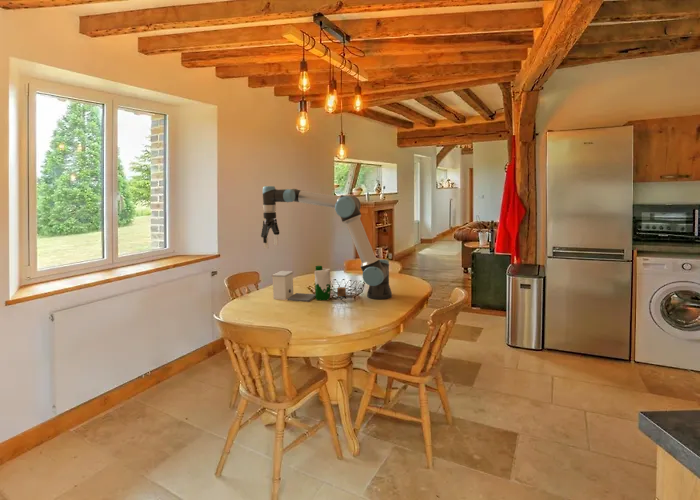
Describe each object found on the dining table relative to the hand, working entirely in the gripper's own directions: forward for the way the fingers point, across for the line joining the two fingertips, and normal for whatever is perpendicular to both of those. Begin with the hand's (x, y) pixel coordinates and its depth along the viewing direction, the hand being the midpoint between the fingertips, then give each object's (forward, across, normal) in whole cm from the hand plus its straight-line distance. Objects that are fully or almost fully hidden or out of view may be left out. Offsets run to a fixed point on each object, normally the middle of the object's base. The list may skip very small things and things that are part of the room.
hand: (271, 246), depth 269 cm
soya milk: (+31, -1, +33) cm, 45 cm away
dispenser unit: (+31, 0, +7) cm, 32 cm away
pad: (+31, 0, +20) cm, 37 cm away
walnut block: (+31, -10, +42) cm, 53 cm away
